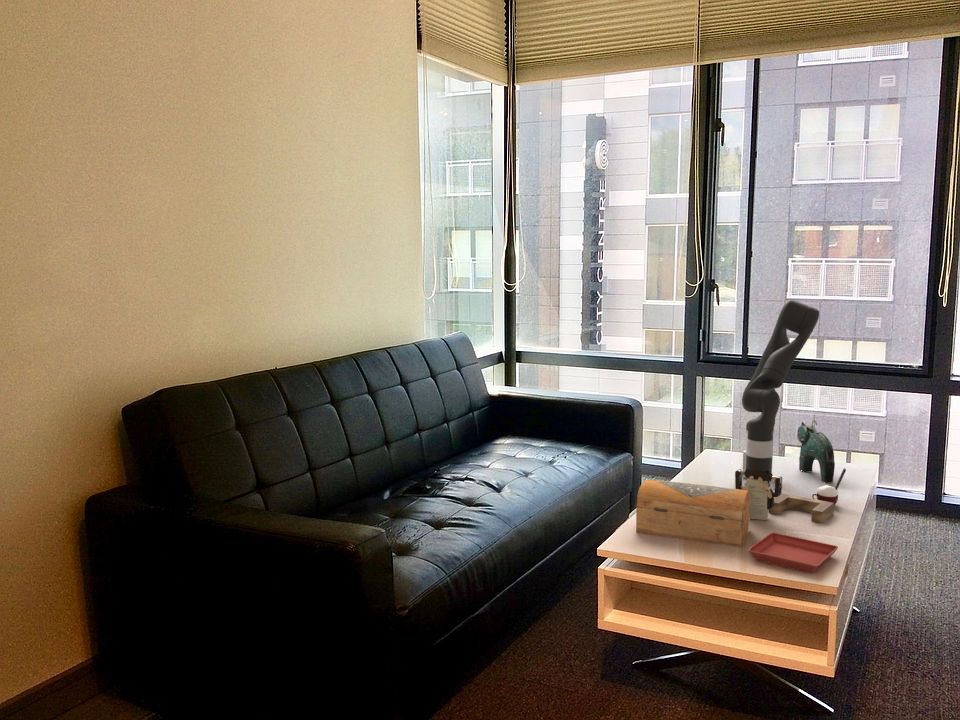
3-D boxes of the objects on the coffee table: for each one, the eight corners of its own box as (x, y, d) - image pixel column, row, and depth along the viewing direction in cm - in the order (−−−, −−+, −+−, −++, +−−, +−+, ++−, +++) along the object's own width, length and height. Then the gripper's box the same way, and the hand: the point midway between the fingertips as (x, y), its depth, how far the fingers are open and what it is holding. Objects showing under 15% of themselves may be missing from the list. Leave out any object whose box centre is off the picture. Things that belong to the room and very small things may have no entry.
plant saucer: (771, 542, 229) (771, 531, 229) (838, 557, 218) (839, 545, 217) (746, 561, 215) (746, 549, 215) (817, 578, 204) (817, 566, 203)
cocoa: (811, 506, 260) (810, 470, 259) (815, 500, 266) (815, 464, 264) (843, 510, 255) (843, 473, 253) (847, 504, 260) (847, 467, 258)
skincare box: (768, 516, 250) (770, 477, 248) (767, 520, 246) (768, 481, 244) (746, 513, 252) (748, 475, 251) (744, 518, 248) (746, 479, 247)
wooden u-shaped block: (768, 512, 254) (768, 501, 253) (781, 503, 262) (781, 493, 261) (821, 523, 243) (822, 511, 243) (833, 513, 252) (833, 502, 251)
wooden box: (750, 530, 239) (752, 484, 237) (742, 548, 224) (744, 500, 222) (649, 516, 252) (650, 472, 250) (635, 533, 237) (635, 486, 235)
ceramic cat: (793, 468, 303) (796, 415, 300) (810, 468, 304) (813, 415, 301) (821, 483, 283) (824, 427, 281) (839, 483, 284) (842, 426, 281)
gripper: (731, 452, 248) (729, 505, 250) (778, 460, 239) (776, 514, 241) (741, 447, 254) (739, 499, 256) (787, 455, 244) (785, 508, 247)
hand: (757, 506), depth 248 cm, fingers closed on skincare box, 7 cm apart
